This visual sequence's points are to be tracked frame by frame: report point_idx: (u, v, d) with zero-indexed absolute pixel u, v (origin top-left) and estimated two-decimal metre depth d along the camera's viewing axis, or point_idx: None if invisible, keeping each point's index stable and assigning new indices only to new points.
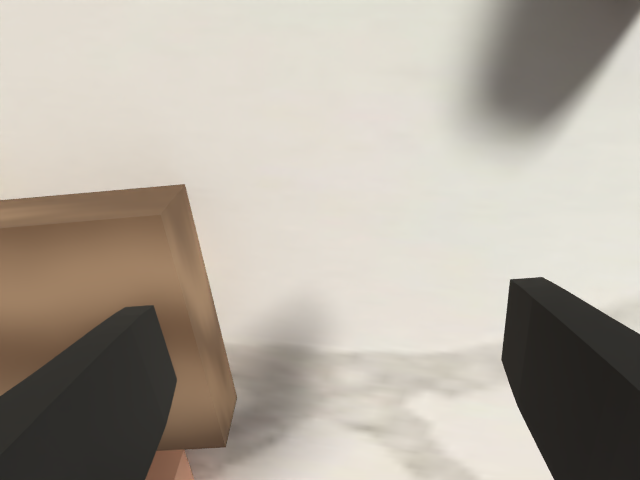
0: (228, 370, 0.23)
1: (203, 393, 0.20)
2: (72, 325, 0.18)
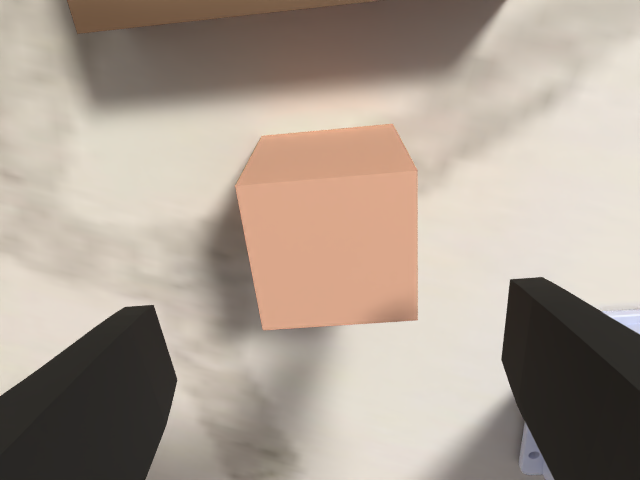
0: None
1: None
2: None
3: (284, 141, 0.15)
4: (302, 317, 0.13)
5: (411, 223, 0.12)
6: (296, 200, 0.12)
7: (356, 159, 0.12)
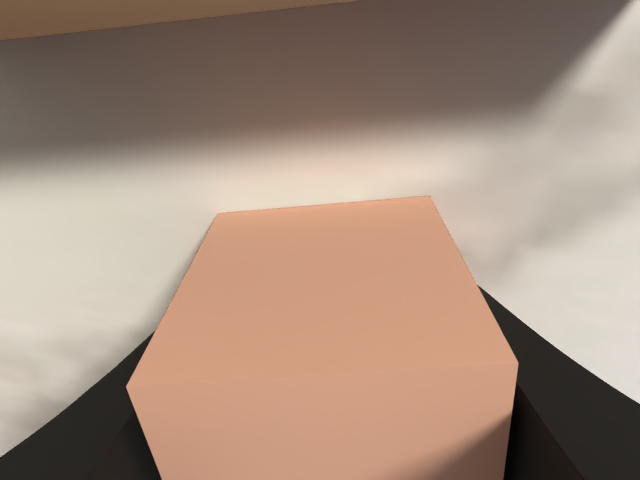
0: None
1: None
2: None
3: (250, 233, 0.09)
4: None
5: (493, 449, 0.06)
6: (258, 411, 0.06)
7: (380, 303, 0.06)
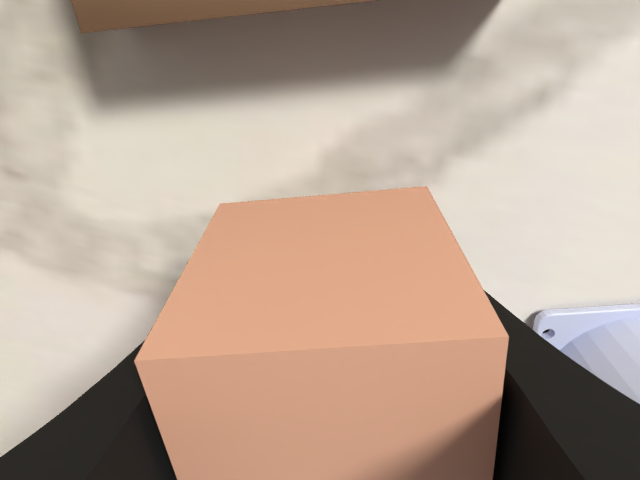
0: None
1: None
2: None
3: (252, 221, 0.09)
4: None
5: (486, 421, 0.06)
6: (261, 385, 0.06)
7: (377, 285, 0.07)
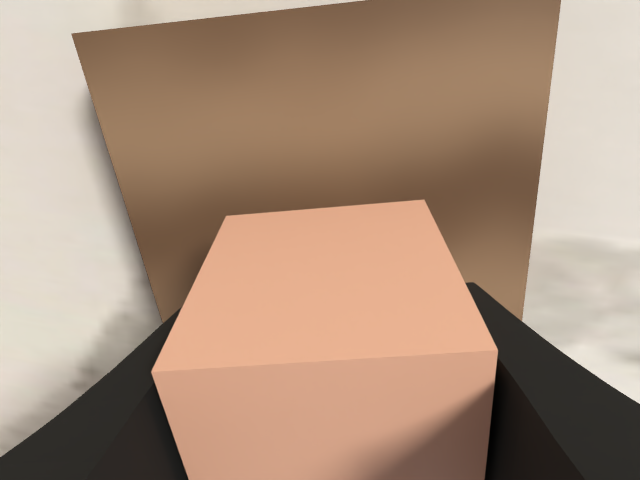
0: None
1: (516, 285, 0.15)
2: (369, 177, 0.13)
3: (257, 234, 0.09)
4: None
5: (478, 428, 0.06)
6: (268, 394, 0.06)
7: (376, 298, 0.07)
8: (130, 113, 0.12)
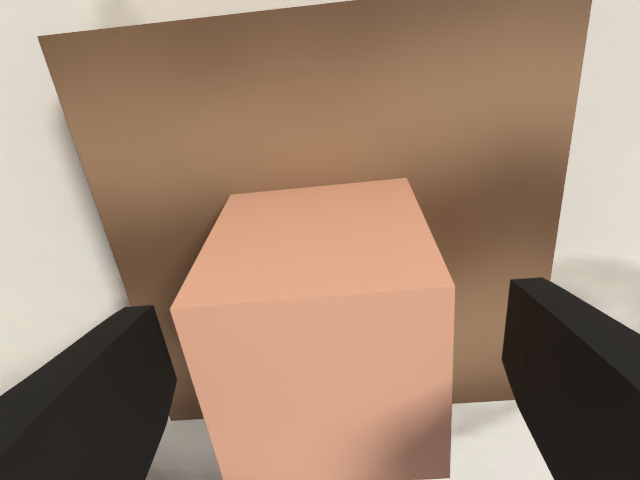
0: None
1: None
2: None
3: (258, 208, 0.11)
4: (283, 475, 0.09)
5: (443, 357, 0.08)
6: (267, 327, 0.07)
7: (359, 253, 0.08)
8: (106, 125, 0.11)
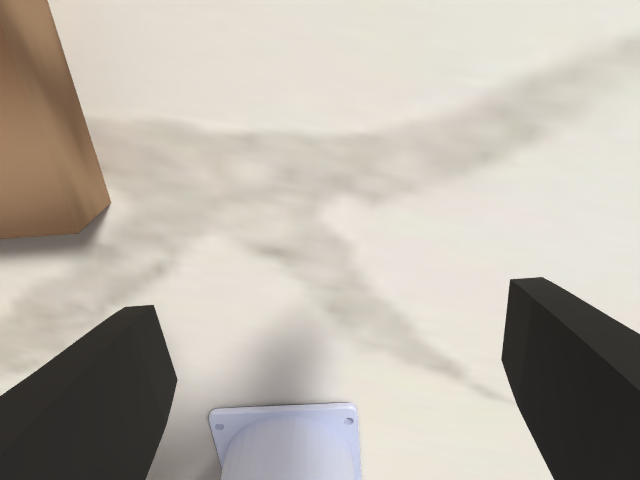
0: (94, 154, 0.18)
1: (35, 141, 0.15)
2: None
3: None
4: None
5: None
6: None
7: None
8: None
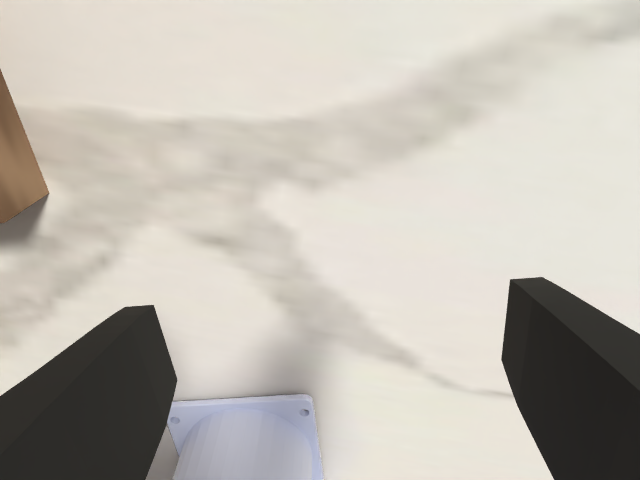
0: (26, 144, 0.18)
1: None
2: None
3: None
4: None
5: None
6: None
7: None
8: None
